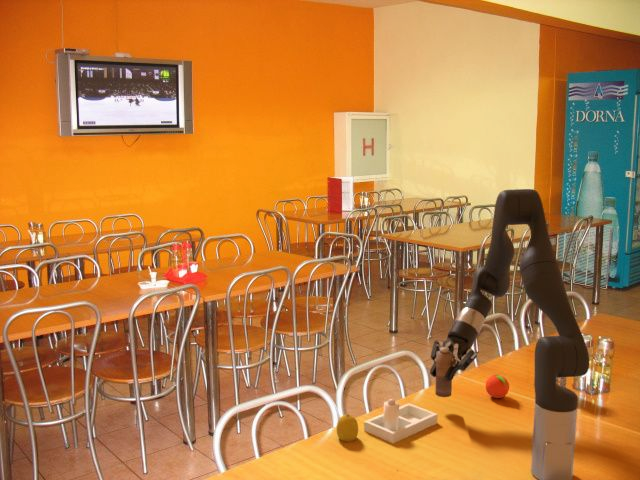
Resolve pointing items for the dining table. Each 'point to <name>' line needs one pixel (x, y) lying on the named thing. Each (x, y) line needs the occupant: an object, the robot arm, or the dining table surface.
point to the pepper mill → (443, 372)
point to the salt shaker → (391, 415)
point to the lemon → (347, 428)
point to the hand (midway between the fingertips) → (439, 377)
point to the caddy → (402, 423)
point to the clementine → (497, 386)
